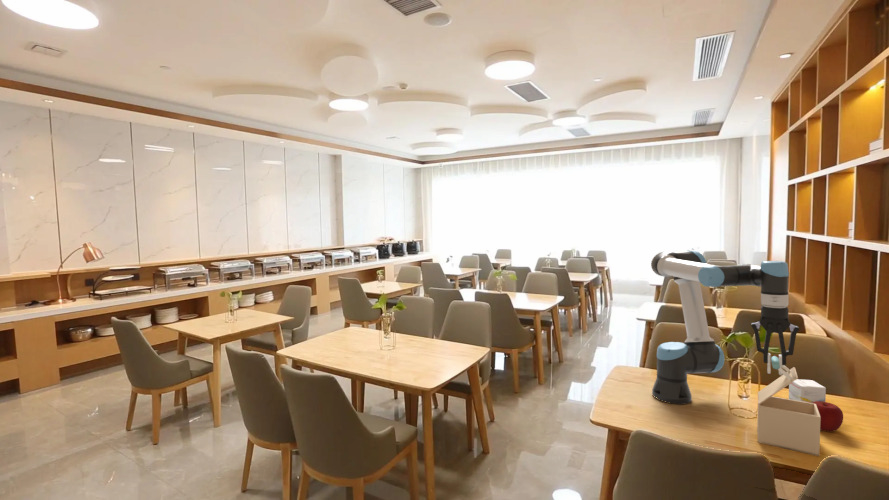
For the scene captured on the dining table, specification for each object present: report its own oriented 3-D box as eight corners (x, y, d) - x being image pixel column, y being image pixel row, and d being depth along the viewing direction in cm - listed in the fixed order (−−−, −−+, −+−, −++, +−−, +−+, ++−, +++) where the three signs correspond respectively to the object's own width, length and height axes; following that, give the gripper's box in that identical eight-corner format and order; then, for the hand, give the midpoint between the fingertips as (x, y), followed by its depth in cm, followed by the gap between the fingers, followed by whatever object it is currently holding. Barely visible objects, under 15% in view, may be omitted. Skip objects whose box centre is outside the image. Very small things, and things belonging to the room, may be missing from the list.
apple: (831, 424, 158) (832, 398, 157) (849, 437, 149) (850, 409, 148) (802, 422, 160) (802, 396, 160) (818, 434, 151) (819, 407, 150)
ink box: (825, 417, 164) (827, 387, 163) (800, 415, 166) (801, 386, 165) (811, 407, 172) (812, 379, 172) (787, 406, 174) (788, 378, 173)
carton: (757, 442, 147) (758, 405, 146) (757, 428, 156) (758, 393, 156) (819, 456, 137) (820, 417, 137) (814, 440, 147) (815, 403, 146)
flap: (759, 404, 146) (740, 388, 149) (758, 393, 155) (741, 378, 158) (798, 378, 139) (778, 361, 142) (795, 367, 149) (776, 352, 152)
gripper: (747, 306, 148) (747, 372, 149) (805, 309, 139) (805, 380, 140) (746, 302, 154) (747, 366, 155) (802, 305, 145) (802, 373, 146)
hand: (774, 373), depth 148 cm, fingers open, 2 cm apart
